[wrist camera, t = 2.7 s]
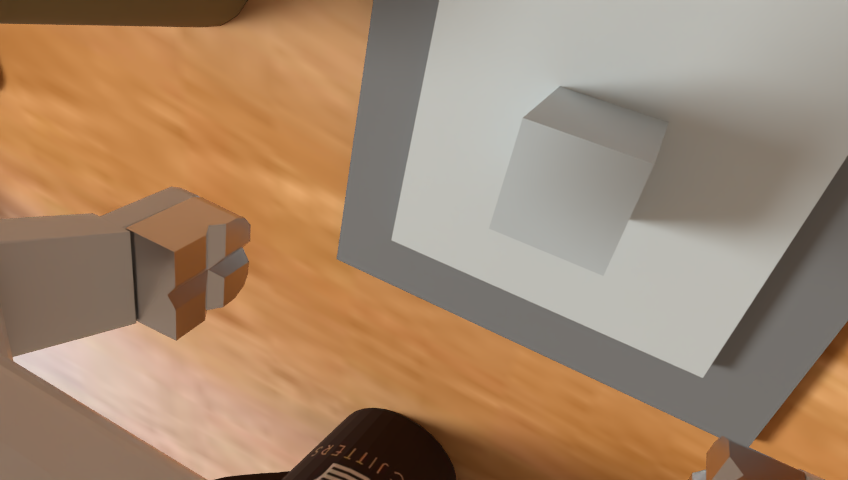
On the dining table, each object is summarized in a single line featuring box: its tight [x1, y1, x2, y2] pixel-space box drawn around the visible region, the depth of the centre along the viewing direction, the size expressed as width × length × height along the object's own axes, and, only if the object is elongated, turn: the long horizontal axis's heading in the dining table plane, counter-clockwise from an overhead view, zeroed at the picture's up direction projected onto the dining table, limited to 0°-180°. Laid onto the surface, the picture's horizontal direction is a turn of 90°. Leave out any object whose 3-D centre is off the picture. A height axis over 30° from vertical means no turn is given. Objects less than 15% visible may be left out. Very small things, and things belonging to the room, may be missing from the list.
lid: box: [391, 0, 848, 378], centre depth 15 cm, size 11×11×4 cm
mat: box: [337, 0, 848, 447], centre depth 17 cm, size 16×16×1 cm
